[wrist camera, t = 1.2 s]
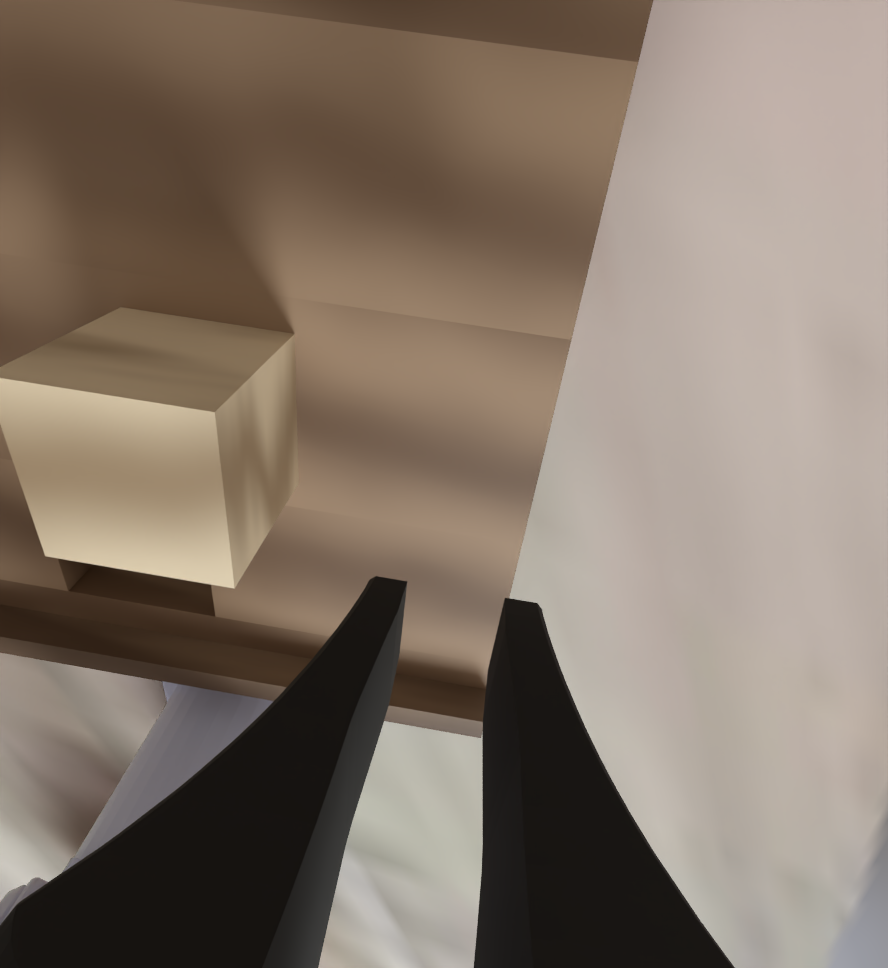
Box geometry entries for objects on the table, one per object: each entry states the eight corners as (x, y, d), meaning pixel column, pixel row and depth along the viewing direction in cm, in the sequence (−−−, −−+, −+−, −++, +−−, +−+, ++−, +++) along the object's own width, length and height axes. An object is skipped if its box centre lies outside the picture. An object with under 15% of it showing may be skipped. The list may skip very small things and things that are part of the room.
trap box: (486, 666, 26) (480, 738, 23) (-206, 546, 27) (-296, 600, 24) (658, -75, 13) (697, -131, 10) (-714, -246, 14) (-1049, -341, 11)
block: (298, 483, 19) (234, 588, 15) (149, 458, 19) (45, 555, 15) (294, 334, 16) (214, 412, 12) (120, 307, 17) (-17, 375, 12)
